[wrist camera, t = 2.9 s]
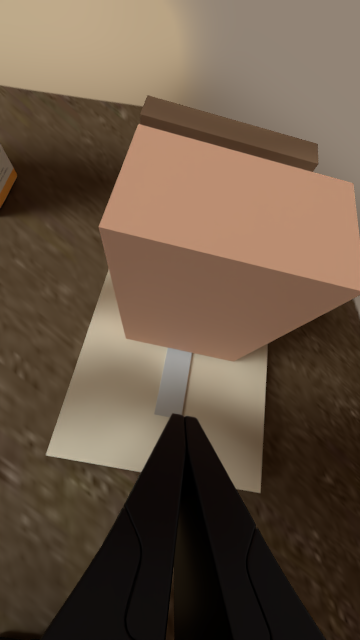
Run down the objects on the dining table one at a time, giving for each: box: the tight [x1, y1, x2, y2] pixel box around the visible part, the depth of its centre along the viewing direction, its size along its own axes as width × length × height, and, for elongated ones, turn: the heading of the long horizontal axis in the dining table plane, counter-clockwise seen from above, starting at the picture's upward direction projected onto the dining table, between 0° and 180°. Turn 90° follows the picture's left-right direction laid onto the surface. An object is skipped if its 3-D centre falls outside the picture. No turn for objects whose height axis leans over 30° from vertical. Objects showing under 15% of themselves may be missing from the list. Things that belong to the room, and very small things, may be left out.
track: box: [46, 96, 318, 493], centre depth 14 cm, size 19×12×8 cm, turn 169°
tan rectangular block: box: [99, 124, 360, 362], centre depth 11 cm, size 4×7×10 cm, turn 79°
